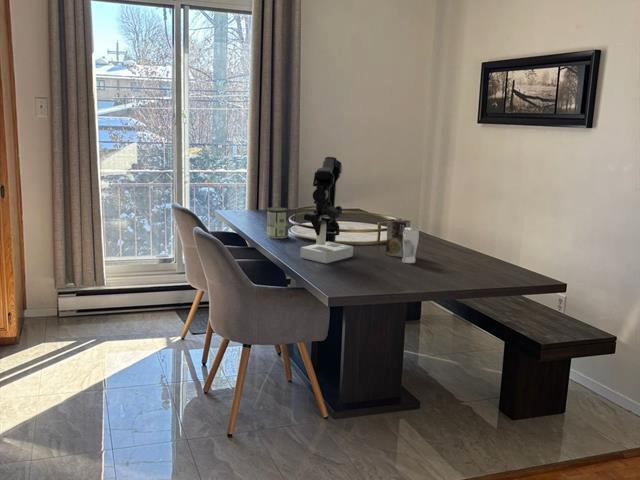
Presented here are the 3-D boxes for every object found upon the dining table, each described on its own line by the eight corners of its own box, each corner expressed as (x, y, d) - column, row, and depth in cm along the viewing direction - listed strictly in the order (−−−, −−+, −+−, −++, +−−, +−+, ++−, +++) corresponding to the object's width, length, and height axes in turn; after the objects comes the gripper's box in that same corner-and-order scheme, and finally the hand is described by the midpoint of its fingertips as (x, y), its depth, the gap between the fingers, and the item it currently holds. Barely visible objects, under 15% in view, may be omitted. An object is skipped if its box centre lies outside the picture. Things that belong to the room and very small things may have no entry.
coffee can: (274, 233, 337) (275, 206, 334) (290, 236, 331) (291, 208, 329) (262, 236, 328) (262, 208, 325) (278, 239, 323) (279, 211, 320)
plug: (320, 242, 289) (321, 220, 287) (327, 244, 286) (328, 221, 284) (314, 243, 286) (315, 221, 284) (321, 245, 283) (322, 222, 281)
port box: (327, 250, 303) (328, 240, 302) (352, 256, 295) (353, 245, 294) (300, 257, 288) (300, 246, 287) (325, 263, 279) (326, 252, 278)
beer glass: (406, 264, 284) (409, 230, 281) (397, 260, 290) (400, 227, 287) (419, 263, 287) (422, 229, 284) (410, 259, 293) (413, 226, 290)
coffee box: (408, 255, 303) (411, 220, 299) (404, 257, 297) (406, 222, 294) (389, 252, 306) (392, 218, 303) (384, 255, 301) (387, 220, 297)
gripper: (324, 203, 270) (322, 240, 273) (350, 199, 284) (348, 235, 288) (303, 200, 277) (301, 236, 280) (330, 196, 291) (328, 231, 294)
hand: (321, 234), depth 285 cm, fingers closed on plug, 4 cm apart
